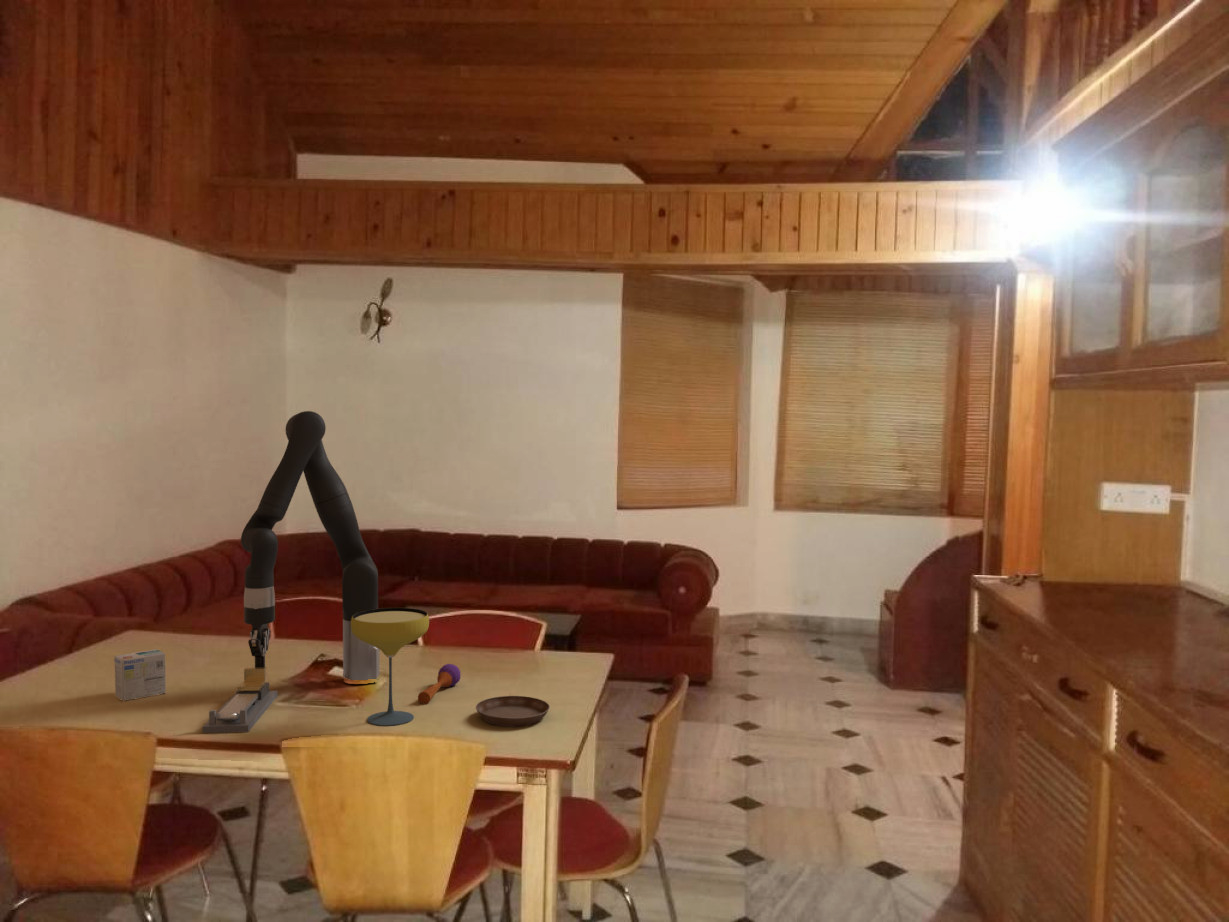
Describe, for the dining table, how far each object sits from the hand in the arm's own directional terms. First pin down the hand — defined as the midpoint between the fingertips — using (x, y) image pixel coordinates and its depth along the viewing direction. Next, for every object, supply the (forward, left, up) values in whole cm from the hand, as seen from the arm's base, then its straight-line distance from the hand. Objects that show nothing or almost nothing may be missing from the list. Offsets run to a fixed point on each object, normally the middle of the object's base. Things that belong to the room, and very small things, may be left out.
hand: (260, 670), depth 251 cm
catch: (0, +8, -2) cm, 8 cm away
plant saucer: (-65, +25, -6) cm, 70 cm away
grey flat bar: (0, +21, -4) cm, 22 cm away
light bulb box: (+30, -1, -6) cm, 31 cm away
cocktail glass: (-36, +24, -6) cm, 44 cm away
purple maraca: (-46, +3, -6) cm, 47 cm away
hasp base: (0, +17, -6) cm, 18 cm away
